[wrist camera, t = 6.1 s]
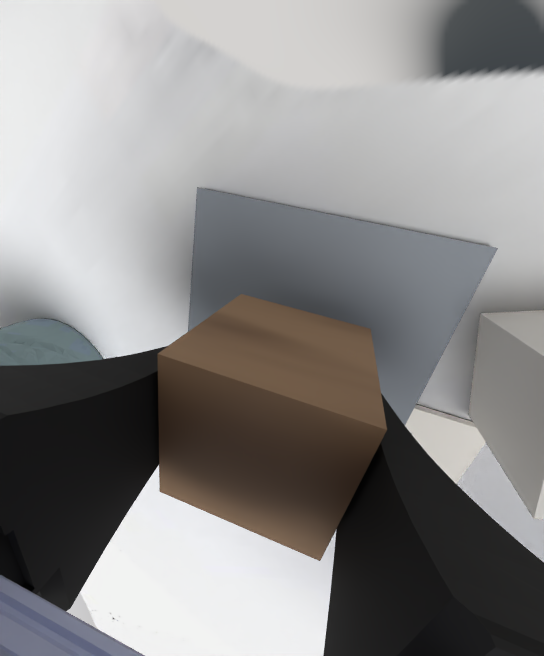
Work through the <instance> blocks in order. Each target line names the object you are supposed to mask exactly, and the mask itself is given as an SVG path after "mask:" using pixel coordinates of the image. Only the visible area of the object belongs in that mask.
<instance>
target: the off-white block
mask: <svg viewBox="0 0 544 656" xmlns="http://www.w3.org/2000/svg"><path fill="white" fill-rule="evenodd" d="M468 415H469V416H470V418H471V419H472V421H473V423H474V424H475V426H476V427H477V429H478V431H479V432H480V434H481V435H482V437H483V439H484V440H485V442H486V443H487V445H488V447H489V448H490V450H491V451H492V453H493V454H494V456H495V458H496V459H497V461H498V462H499V464H500V466H501V467H502V469H503V470H504V472H505V474H506V475H507V477H508V478H509V480H510V482H511V483H512V485H513V486H514V488H515V490H516V491H517V493H518V494H519V496H520V498H521V499H522V501H523V502H524V504H525V506H526V507H527V509H528V510H529V512H530V514H531V515H532V517H533V518H534V519H539V520H544V310H534V311H514V312H495V313H480V319H479V327H478V336H477V344H476V353H475V361H474V370H473V378H472V387H471V396H470V404H469V413H468Z"/></svg>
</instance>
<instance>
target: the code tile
mask: <svg viewBox="0 0 544 656" xmlns="http://www.w3.org/2000/svg"><path fill="white" fill-rule="evenodd" d="M405 427H406V428H407V429H408V430H409V432H410V433H411V434H412V436H413V437H414V438H415V439H416V440H417V442H418V443H419V444H420V445H421V446H422V448H423V449H424V450H425V451H426V452H427V454H428V455H429V456H430V457H431V458H432V459H433V460H434V461H435V463H436V464H437V465H438V466H439V467H440V468H441V469H442V470H443V471H444V472H445V473H446V474H447V475H448V476H449V477H450V478H451V479H452V480H453V481H454V483H455V484H457V482H458V481H459V480H460V478H461V477H462V476H463V474H464V473H465V471H466V470H467V469H468V467H469V466H470V464H471V463H472V462H473V460H474V459H475V457H476V456H477V455H478V453H479V452H480V450H481V449H482V448H483V446H484V445H485V443H486V442H485V440H484V439H483V437H482V435H481V434H480V432H479V431H478V429H477V427H476V426H475V424H474V423H473V422H471V421H468V420H465V419H461V418H458V417H455V416H452V415H449V414H445V413H442V412H439V411H436V410H432V409H429V408H426V407H423V406H420V405H415V407H414V409H413V411H412V413H411V415H410V417H409V419H408V421H407V423H406V425H405Z"/></svg>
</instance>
